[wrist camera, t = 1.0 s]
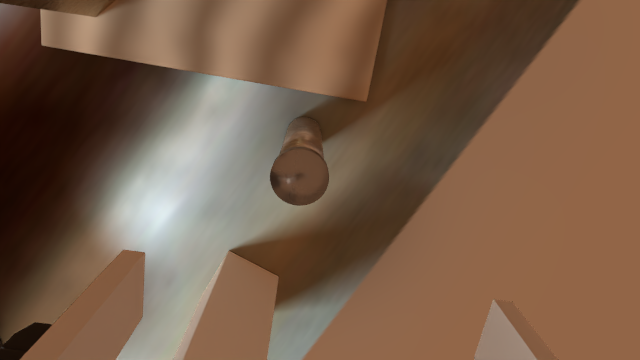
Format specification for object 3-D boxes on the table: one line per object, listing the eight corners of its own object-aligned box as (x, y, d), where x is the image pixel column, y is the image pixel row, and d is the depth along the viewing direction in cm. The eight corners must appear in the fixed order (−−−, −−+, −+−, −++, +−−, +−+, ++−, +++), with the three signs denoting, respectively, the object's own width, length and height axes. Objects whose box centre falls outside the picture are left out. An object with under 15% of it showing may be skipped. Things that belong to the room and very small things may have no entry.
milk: (228, 249, 42) (145, 444, 21) (280, 276, 43) (250, 488, 22) (201, 294, 44) (99, 518, 23) (252, 319, 45) (199, 556, 24)
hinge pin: (282, 149, 39) (266, 200, 26) (287, 111, 38) (274, 144, 25) (319, 155, 39) (323, 209, 26) (326, 118, 38) (333, 154, 25)
